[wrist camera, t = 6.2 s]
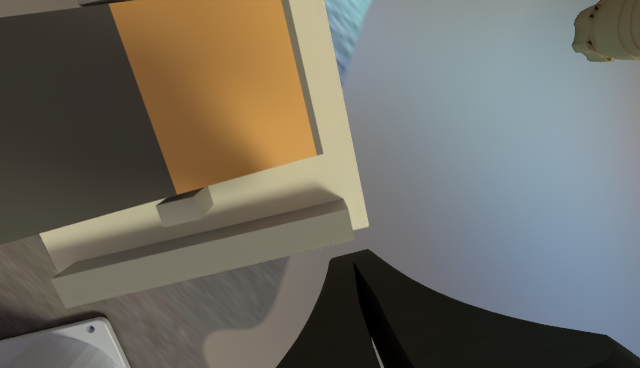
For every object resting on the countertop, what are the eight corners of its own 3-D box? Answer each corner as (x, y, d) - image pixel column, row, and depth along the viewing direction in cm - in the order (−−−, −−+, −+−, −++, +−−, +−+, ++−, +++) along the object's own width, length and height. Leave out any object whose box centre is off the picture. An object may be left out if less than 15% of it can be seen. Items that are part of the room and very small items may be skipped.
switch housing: (105, 268, 19) (30, 330, 14) (-25, -21, 15) (-199, -88, 10) (358, 208, 19) (381, 247, 14) (296, -95, 15) (294, -202, 10)
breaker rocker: (19, 233, 12) (-2, 245, 11) (-80, 41, 10) (-116, 32, 9) (309, 153, 15) (316, 155, 14) (271, -6, 13) (276, -18, 12)
